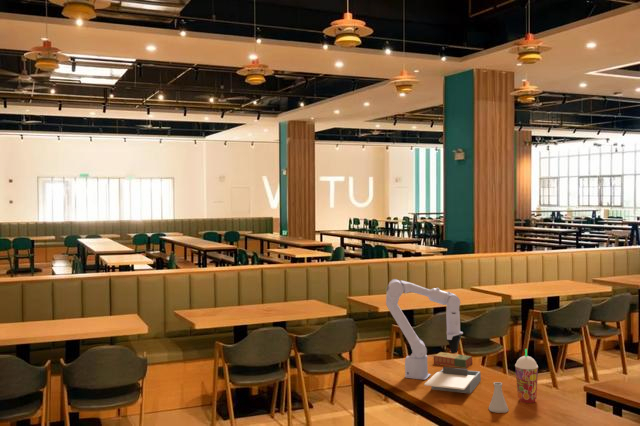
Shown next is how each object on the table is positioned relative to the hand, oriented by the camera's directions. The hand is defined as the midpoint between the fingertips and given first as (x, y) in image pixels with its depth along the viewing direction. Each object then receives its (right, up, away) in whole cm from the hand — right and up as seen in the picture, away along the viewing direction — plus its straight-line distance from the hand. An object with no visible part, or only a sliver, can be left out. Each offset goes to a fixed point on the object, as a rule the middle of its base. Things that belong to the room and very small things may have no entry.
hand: (454, 352), depth 279 cm
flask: (+7, -12, -43) cm, 46 cm away
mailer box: (-2, -11, -12) cm, 16 cm away
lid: (-6, -7, -21) cm, 22 cm away
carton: (+4, -10, +20) cm, 23 cm away
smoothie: (+21, -11, -35) cm, 42 cm away
